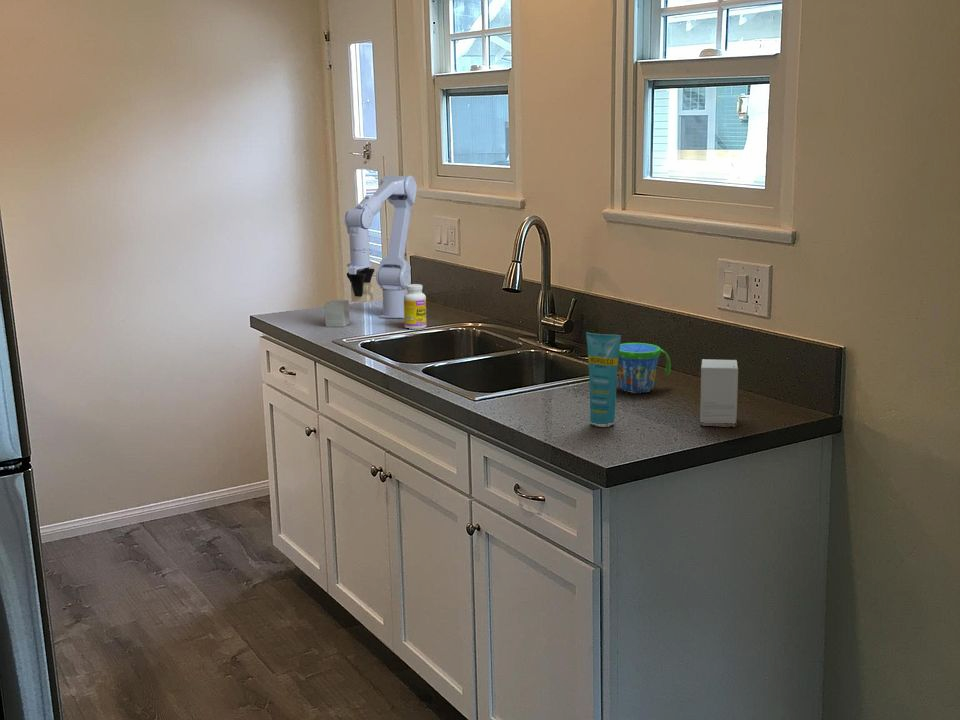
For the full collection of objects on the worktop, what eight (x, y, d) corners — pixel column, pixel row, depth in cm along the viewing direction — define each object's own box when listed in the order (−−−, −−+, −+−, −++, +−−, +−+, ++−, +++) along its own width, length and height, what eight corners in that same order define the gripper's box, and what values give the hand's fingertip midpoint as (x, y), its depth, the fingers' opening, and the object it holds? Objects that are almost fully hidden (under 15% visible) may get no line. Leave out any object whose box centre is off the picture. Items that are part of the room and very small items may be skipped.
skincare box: (350, 323, 323) (349, 299, 321) (344, 327, 317) (343, 303, 315) (331, 323, 324) (330, 299, 322) (325, 327, 318) (323, 303, 316)
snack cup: (665, 383, 247) (666, 341, 245) (675, 395, 237) (676, 351, 234) (599, 385, 246) (599, 343, 244) (606, 397, 236) (606, 353, 234)
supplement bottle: (416, 330, 310) (415, 287, 307) (400, 328, 314) (398, 286, 311) (431, 326, 315) (430, 284, 312) (414, 324, 319) (413, 282, 316)
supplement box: (736, 418, 219) (738, 359, 216) (736, 428, 212) (738, 368, 209) (699, 416, 221) (701, 358, 218) (698, 427, 214) (700, 366, 211)
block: (357, 299, 317) (356, 282, 316) (372, 299, 316) (372, 282, 315) (351, 301, 313) (350, 285, 311) (367, 302, 311) (366, 285, 310)
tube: (582, 426, 216) (582, 334, 211) (588, 419, 220) (588, 329, 215) (617, 429, 213) (618, 337, 208) (623, 422, 217) (624, 332, 213)
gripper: (355, 245, 319) (357, 290, 322) (338, 252, 305) (340, 298, 308) (377, 246, 317) (379, 290, 320) (361, 252, 303) (363, 299, 306)
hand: (361, 294), depth 314 cm, fingers closed on block, 5 cm apart
